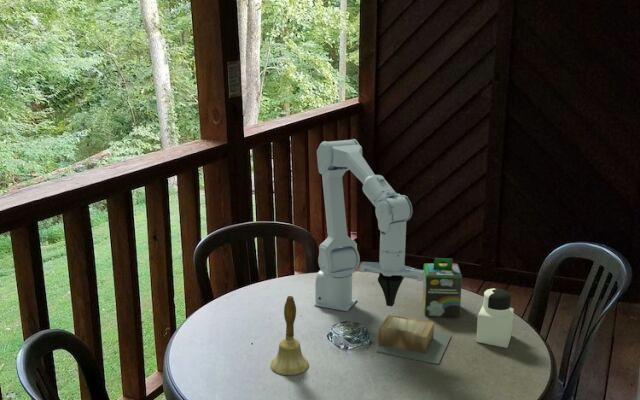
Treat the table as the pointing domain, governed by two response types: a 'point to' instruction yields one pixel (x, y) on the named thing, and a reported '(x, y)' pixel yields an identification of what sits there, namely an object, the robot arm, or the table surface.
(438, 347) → the mat
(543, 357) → the table surface
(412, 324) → the tan rectangular block
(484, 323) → the medicine bottle
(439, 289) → the chalk box
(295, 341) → the hand bell
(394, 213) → the robot arm
